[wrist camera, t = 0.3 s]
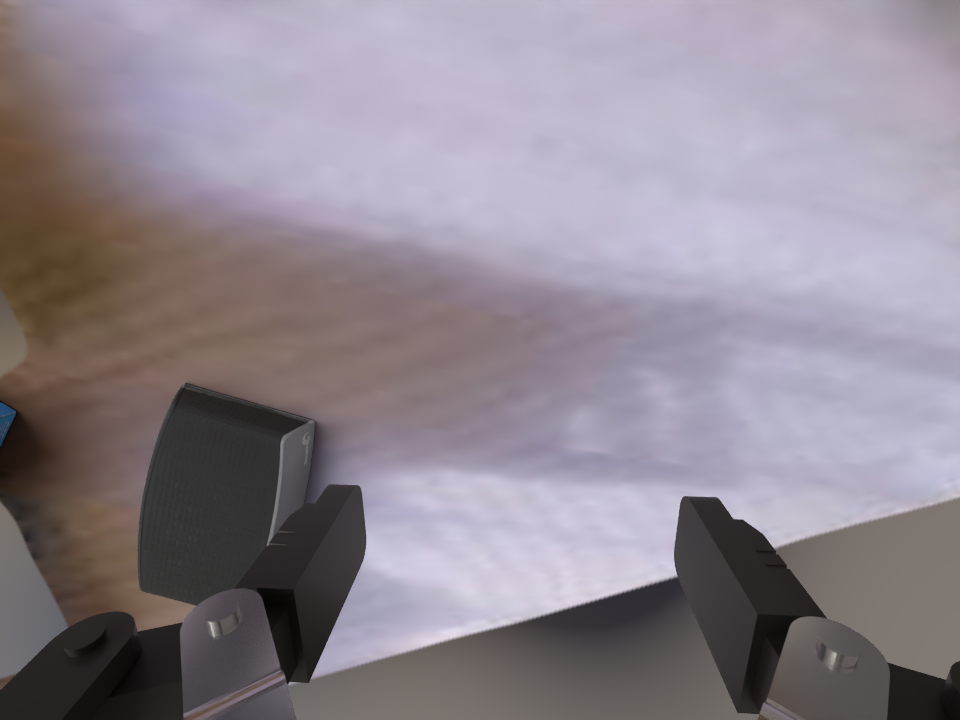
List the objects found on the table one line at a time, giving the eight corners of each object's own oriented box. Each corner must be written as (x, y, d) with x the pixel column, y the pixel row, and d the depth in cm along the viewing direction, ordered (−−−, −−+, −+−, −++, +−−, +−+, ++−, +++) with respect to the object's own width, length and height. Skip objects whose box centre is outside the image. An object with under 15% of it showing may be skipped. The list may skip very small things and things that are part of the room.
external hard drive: (326, 420, 41) (308, 438, 37) (282, 604, 45) (261, 637, 41) (180, 378, 41) (145, 391, 37) (148, 567, 45) (114, 597, 41)
